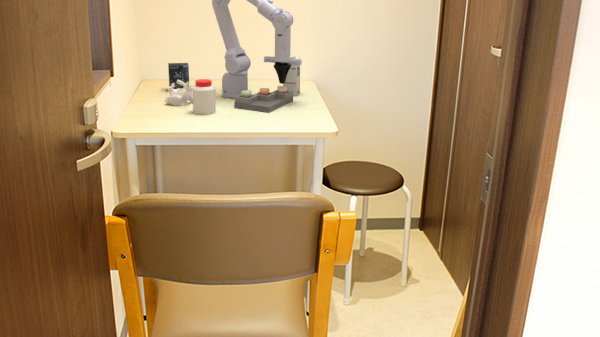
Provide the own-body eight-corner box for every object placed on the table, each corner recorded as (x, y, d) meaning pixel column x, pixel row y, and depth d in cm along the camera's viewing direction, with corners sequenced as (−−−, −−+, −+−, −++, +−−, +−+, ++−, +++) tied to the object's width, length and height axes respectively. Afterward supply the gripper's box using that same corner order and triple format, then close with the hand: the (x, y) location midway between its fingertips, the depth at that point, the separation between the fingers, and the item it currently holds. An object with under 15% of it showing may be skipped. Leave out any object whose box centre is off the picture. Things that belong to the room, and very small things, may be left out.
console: (234, 107, 216) (234, 97, 215) (260, 96, 234) (260, 86, 232) (269, 112, 211) (269, 101, 210) (293, 100, 228) (293, 90, 227)
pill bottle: (197, 115, 205) (196, 83, 202) (190, 110, 212) (189, 79, 208) (218, 113, 209) (218, 82, 205) (211, 108, 215) (210, 77, 212)
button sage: (239, 97, 216) (239, 91, 215) (244, 95, 219) (244, 89, 219) (248, 98, 215) (248, 92, 214) (253, 96, 218) (253, 90, 217)
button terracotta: (257, 94, 220) (257, 89, 220) (262, 92, 223) (262, 87, 223) (266, 95, 219) (266, 90, 218) (271, 93, 222) (271, 88, 221)
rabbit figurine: (198, 101, 224) (197, 76, 221) (199, 107, 217) (198, 80, 214) (165, 103, 222) (163, 77, 218) (165, 108, 215) (163, 81, 211)
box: (169, 92, 238) (168, 65, 234) (169, 89, 243) (167, 62, 239) (189, 91, 240) (188, 65, 236) (189, 88, 245) (188, 62, 241)
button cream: (275, 92, 224) (275, 87, 224) (279, 90, 227) (279, 85, 227) (284, 93, 223) (284, 88, 222) (288, 91, 226) (288, 86, 225)
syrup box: (297, 96, 236) (297, 59, 231) (282, 95, 237) (282, 58, 232) (299, 93, 241) (300, 56, 236) (285, 92, 242) (286, 55, 237)
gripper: (259, 46, 219) (260, 82, 223) (296, 49, 213) (295, 87, 218) (268, 43, 225) (268, 79, 229) (304, 46, 219) (303, 83, 224)
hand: (282, 83), depth 224 cm, fingers closed
